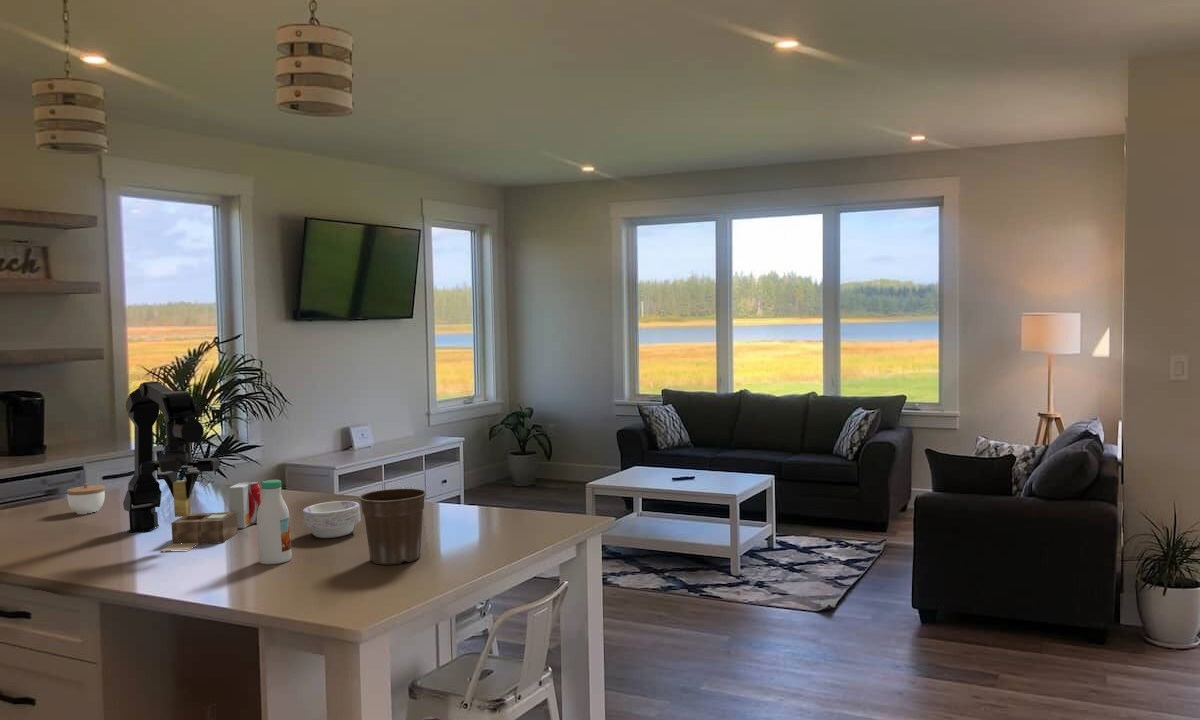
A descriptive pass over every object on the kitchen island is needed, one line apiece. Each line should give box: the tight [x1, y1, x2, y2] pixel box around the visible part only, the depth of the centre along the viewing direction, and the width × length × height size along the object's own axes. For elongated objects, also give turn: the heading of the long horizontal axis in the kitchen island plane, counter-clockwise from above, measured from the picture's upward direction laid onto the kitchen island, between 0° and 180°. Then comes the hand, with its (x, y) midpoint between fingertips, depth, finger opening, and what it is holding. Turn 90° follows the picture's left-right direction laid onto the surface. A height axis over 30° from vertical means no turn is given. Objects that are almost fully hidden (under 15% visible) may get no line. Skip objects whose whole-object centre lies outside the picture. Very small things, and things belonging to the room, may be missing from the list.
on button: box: [207, 514, 227, 519], centre depth 255 cm, size 4×4×3 cm
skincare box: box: [228, 483, 251, 529], centre depth 269 cm, size 6×4×12 cm
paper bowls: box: [302, 500, 362, 539], centre depth 256 cm, size 15×15×8 cm
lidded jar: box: [66, 482, 106, 515], centre depth 296 cm, size 11×11×9 cm
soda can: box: [236, 480, 262, 525], centre depth 273 cm, size 7×7×12 cm
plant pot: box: [358, 488, 427, 566], centre depth 228 cm, size 16×16×16 cm
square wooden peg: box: [173, 480, 192, 518], centre depth 246 cm, size 3×3×9 cm
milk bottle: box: [256, 479, 293, 565], centre depth 229 cm, size 8×8×20 cm
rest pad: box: [160, 543, 199, 552], centre depth 246 cm, size 7×7×1 cm
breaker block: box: [171, 511, 238, 544], centre depth 255 cm, size 14×11×6 cm
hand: (181, 498), depth 246 cm, fingers closed on square wooden peg, 3 cm apart
